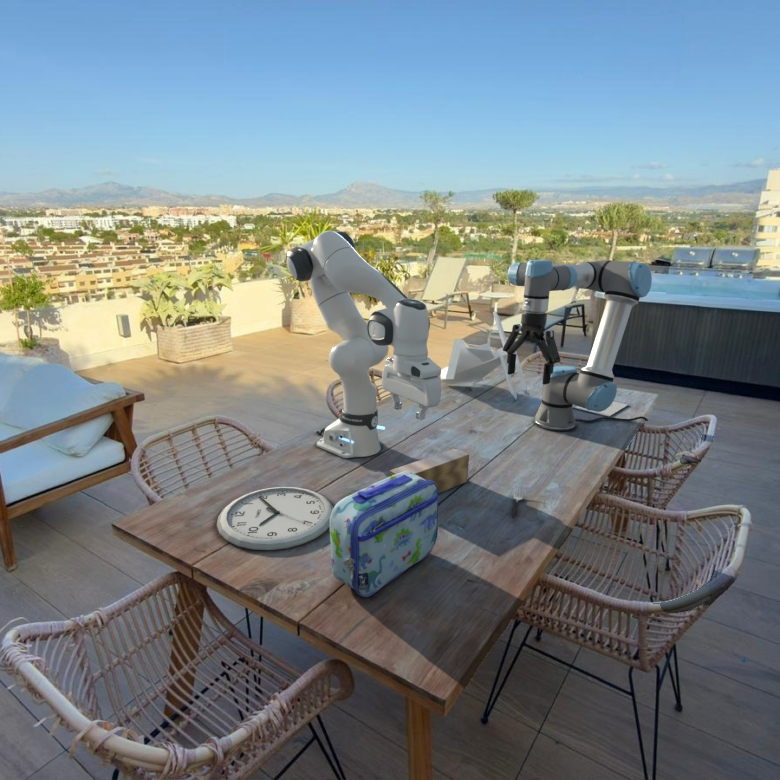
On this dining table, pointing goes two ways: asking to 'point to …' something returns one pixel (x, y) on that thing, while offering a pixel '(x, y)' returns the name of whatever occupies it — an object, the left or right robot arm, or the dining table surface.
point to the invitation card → (609, 411)
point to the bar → (440, 469)
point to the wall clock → (275, 518)
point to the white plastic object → (480, 363)
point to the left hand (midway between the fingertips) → (408, 413)
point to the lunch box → (383, 531)
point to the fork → (517, 498)
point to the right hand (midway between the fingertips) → (527, 378)
